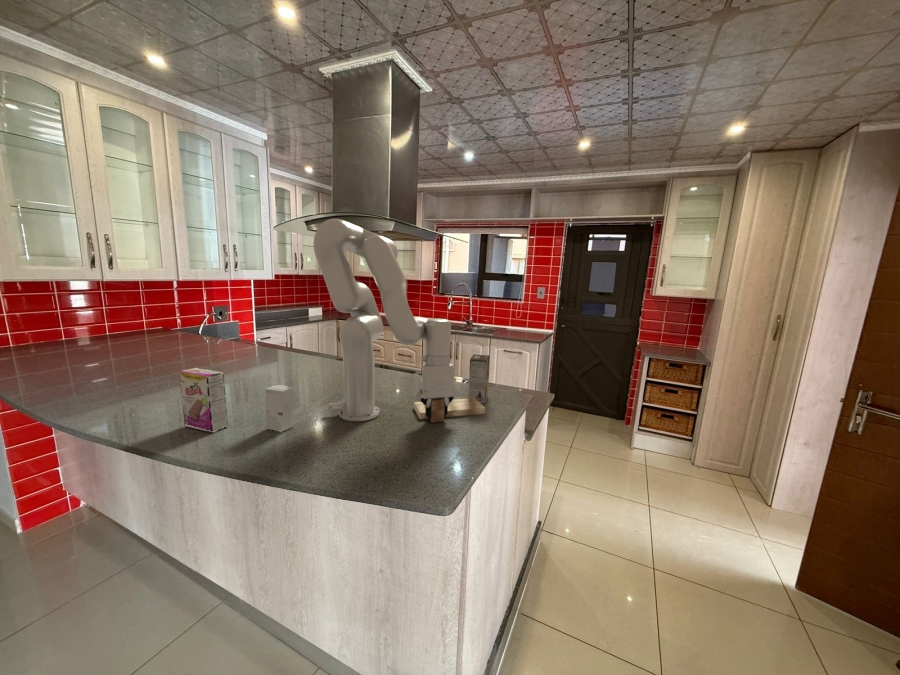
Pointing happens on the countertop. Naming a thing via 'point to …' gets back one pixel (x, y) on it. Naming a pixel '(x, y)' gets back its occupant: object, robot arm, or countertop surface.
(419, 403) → the board
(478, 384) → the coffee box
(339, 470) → the countertop surface
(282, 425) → the skincare box
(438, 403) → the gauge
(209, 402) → the candy bar box
